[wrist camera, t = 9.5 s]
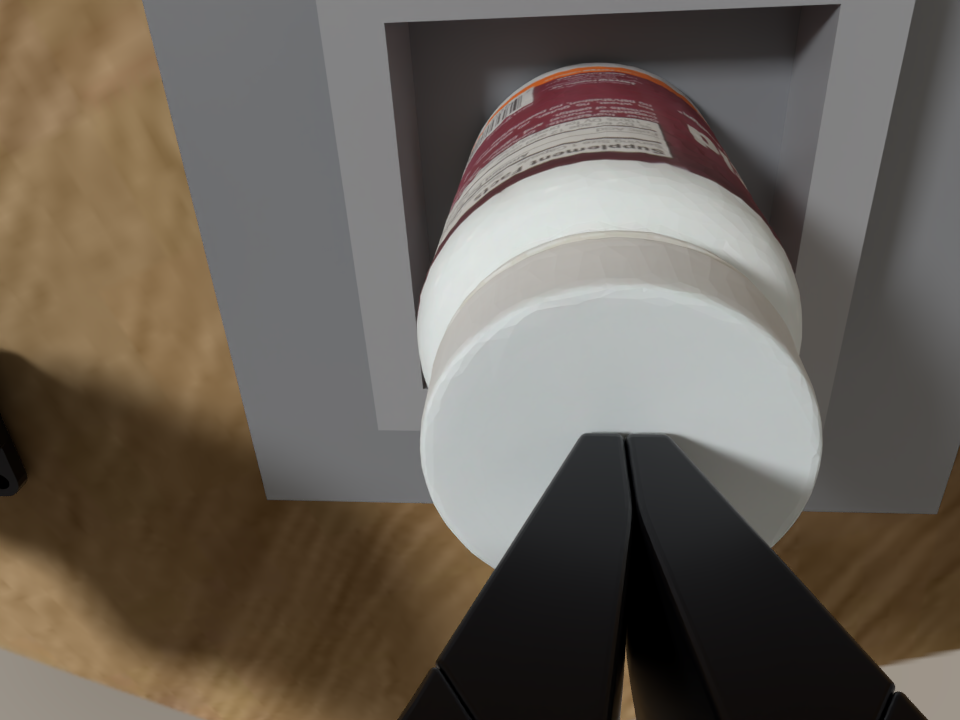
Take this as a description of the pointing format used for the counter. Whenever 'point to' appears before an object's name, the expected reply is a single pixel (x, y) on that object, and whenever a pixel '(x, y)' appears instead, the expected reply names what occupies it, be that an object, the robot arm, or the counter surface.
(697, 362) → the pill bottle
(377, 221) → the bottle stand
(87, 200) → the counter surface
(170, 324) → the counter surface
